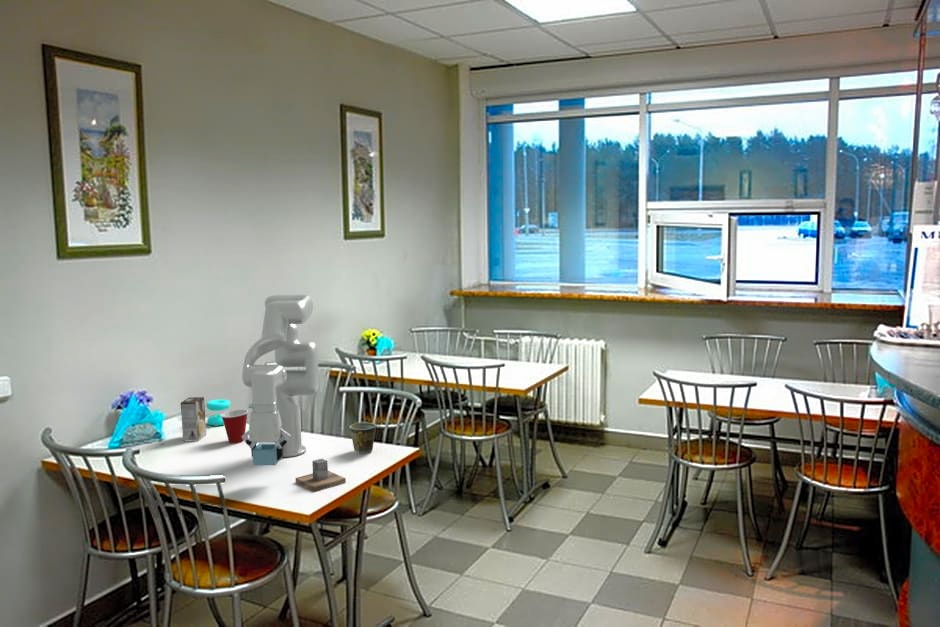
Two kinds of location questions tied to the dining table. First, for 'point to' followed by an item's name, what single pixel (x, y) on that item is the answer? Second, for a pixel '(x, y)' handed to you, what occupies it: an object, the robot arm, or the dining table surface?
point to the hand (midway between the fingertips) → (267, 458)
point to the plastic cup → (235, 424)
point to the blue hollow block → (265, 454)
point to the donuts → (217, 406)
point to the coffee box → (193, 418)
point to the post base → (320, 483)
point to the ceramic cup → (363, 437)
